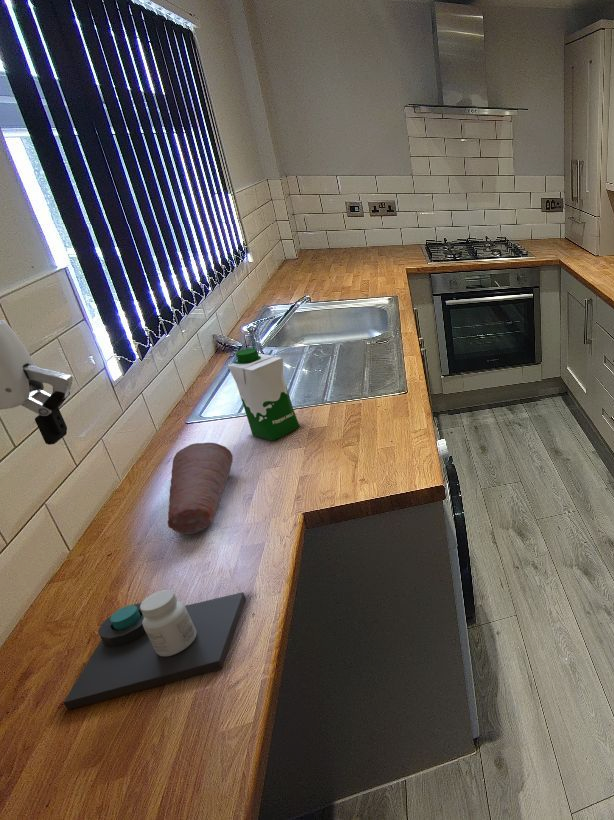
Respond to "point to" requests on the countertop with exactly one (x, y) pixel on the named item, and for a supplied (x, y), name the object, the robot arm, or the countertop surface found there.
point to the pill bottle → (167, 623)
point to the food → (197, 486)
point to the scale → (140, 664)
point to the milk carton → (264, 394)
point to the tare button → (125, 617)
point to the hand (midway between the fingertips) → (9, 445)
